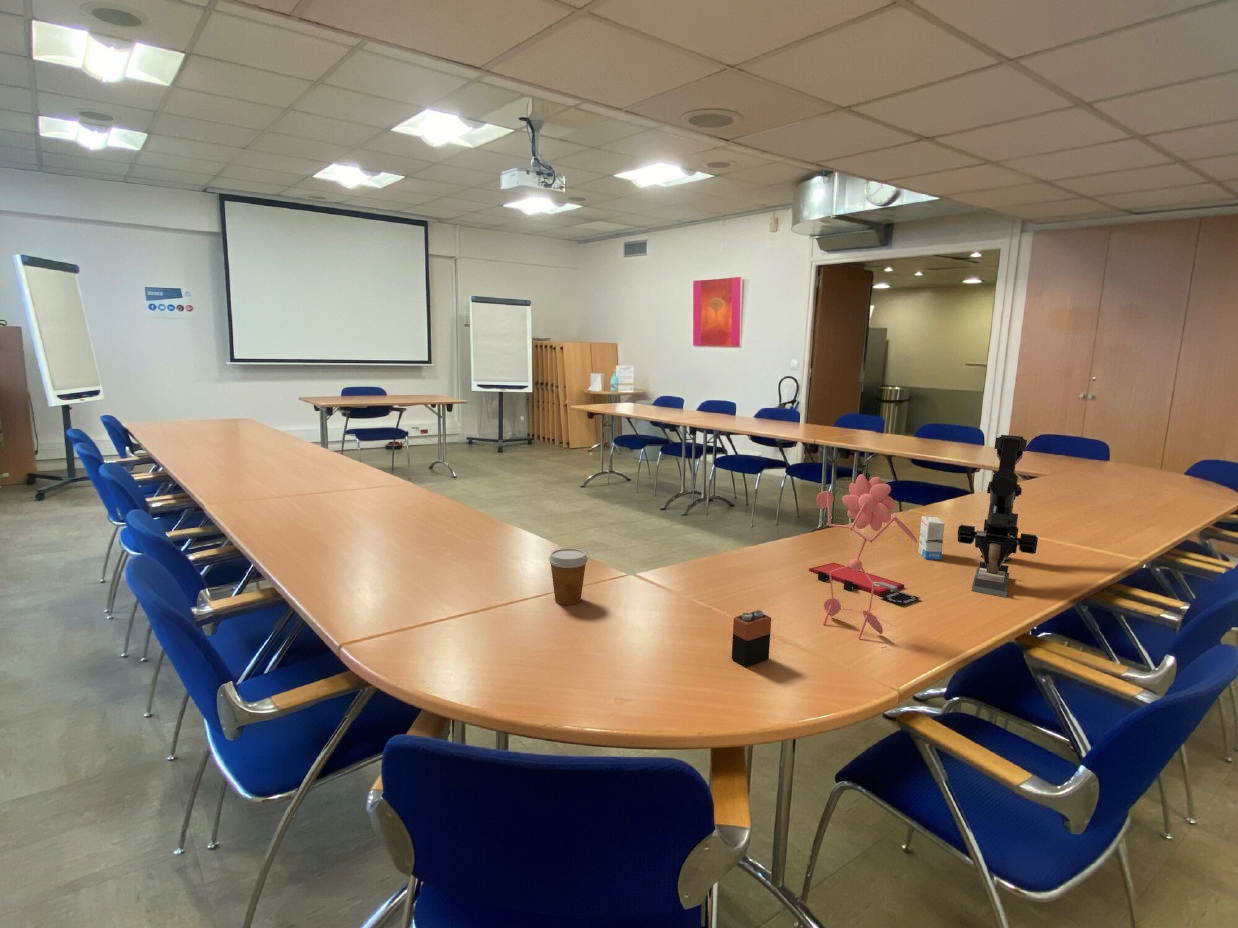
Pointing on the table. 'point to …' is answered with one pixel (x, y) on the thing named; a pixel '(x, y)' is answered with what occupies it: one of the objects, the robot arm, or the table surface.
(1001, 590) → the rail
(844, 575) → the red board with handle
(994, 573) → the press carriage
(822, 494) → the figurine
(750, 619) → the battery
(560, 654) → the table surface
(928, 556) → the ink box
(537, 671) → the table surface
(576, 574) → the disposable coffee cup
